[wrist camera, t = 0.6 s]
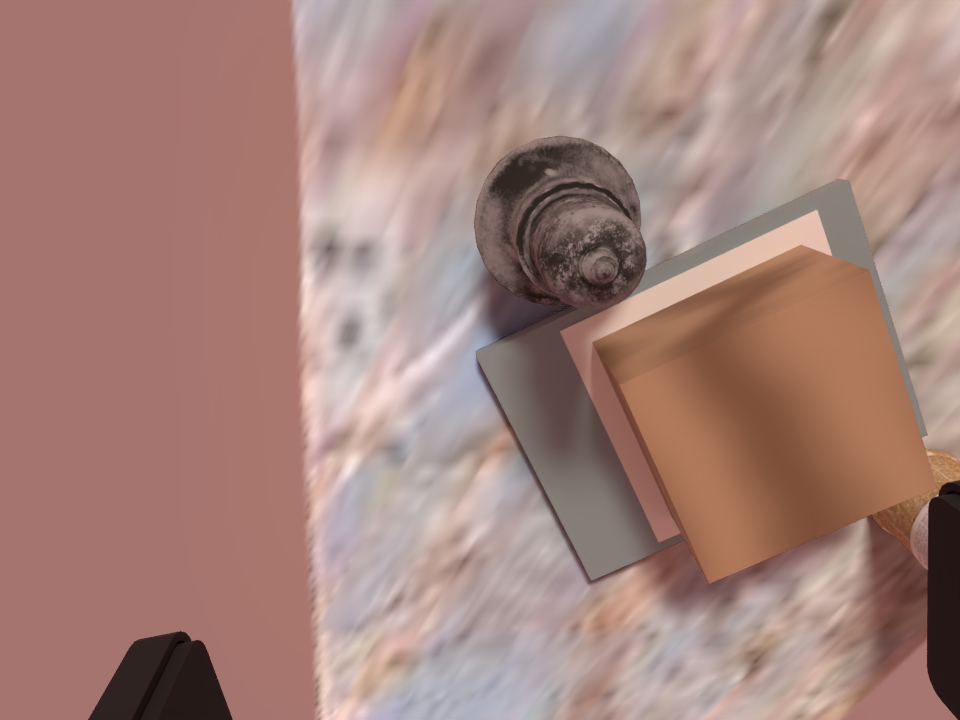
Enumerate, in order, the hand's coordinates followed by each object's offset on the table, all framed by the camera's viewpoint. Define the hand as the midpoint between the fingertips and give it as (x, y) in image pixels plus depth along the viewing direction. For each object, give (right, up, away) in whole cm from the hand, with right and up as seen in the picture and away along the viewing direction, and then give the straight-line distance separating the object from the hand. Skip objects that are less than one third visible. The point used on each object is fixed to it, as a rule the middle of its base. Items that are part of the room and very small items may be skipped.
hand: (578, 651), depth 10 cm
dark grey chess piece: (+1, +10, +20) cm, 22 cm away
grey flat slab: (+8, +2, +23) cm, 24 cm away
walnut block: (+9, +3, +22) cm, 24 cm away
